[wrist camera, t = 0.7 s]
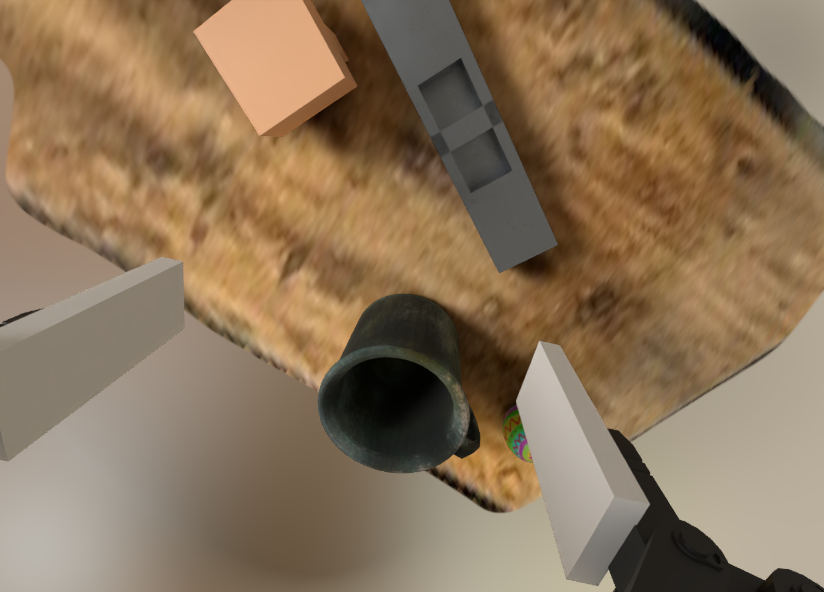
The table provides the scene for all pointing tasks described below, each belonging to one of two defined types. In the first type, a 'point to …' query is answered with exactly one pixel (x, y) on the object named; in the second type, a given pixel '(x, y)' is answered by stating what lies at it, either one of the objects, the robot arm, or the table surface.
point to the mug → (399, 389)
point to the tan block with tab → (276, 61)
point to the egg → (516, 434)
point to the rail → (464, 125)
